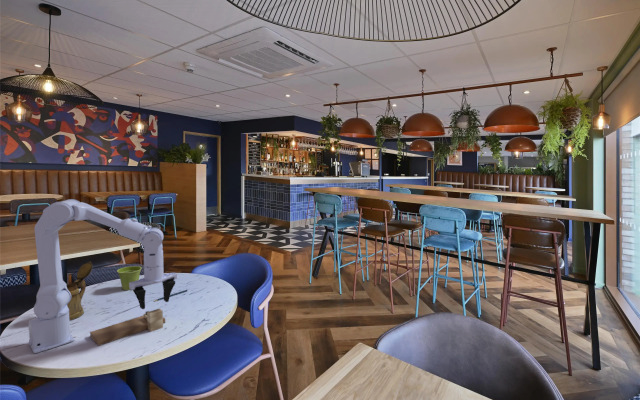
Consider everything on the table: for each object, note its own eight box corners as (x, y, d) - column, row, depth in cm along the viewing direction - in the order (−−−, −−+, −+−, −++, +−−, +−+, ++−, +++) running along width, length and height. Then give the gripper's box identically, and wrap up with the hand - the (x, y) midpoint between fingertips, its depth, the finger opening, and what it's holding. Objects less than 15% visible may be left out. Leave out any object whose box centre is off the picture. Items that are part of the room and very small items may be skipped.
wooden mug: (101, 308, 122) (99, 262, 120) (63, 323, 109) (60, 272, 107) (85, 304, 125) (83, 259, 123) (45, 319, 112) (43, 269, 110)
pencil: (187, 291, 140) (153, 302, 128) (186, 291, 141) (152, 302, 129) (187, 290, 140) (153, 300, 128) (186, 289, 141) (152, 300, 129)
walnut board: (98, 345, 96) (98, 340, 96) (90, 336, 101) (90, 331, 101) (165, 322, 111) (165, 318, 111) (155, 315, 117) (155, 311, 116)
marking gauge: (150, 331, 105) (150, 314, 105) (140, 323, 111) (139, 307, 110) (163, 327, 108) (162, 310, 108) (152, 319, 114) (151, 303, 113)
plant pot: (134, 292, 138) (133, 272, 137) (112, 291, 138) (112, 272, 137) (146, 284, 147) (145, 266, 147) (126, 284, 147) (125, 265, 147)
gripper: (134, 272, 97) (135, 315, 99) (180, 263, 108) (181, 301, 110) (126, 267, 102) (127, 308, 103) (171, 259, 113) (172, 295, 114)
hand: (154, 304), depth 107 cm, fingers open, 7 cm apart
